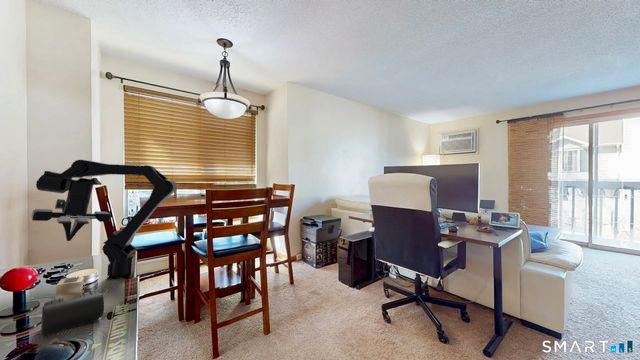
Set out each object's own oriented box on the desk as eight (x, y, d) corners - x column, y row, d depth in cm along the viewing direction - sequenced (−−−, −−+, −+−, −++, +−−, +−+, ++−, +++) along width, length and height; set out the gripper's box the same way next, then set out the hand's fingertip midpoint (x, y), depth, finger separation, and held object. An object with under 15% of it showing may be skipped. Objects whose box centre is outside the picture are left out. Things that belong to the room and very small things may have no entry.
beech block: (83, 292, 74) (85, 275, 74) (80, 298, 70) (81, 281, 70) (60, 295, 71) (61, 278, 71) (55, 303, 67) (56, 284, 67)
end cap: (41, 343, 51) (43, 311, 51) (38, 329, 56) (41, 300, 56) (103, 323, 59) (105, 296, 59) (96, 312, 64) (98, 287, 64)
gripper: (108, 195, 95) (99, 234, 94) (36, 189, 81) (24, 235, 80) (115, 199, 89) (105, 241, 88) (39, 193, 74) (26, 244, 73)
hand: (68, 240), depth 82 cm, fingers closed
